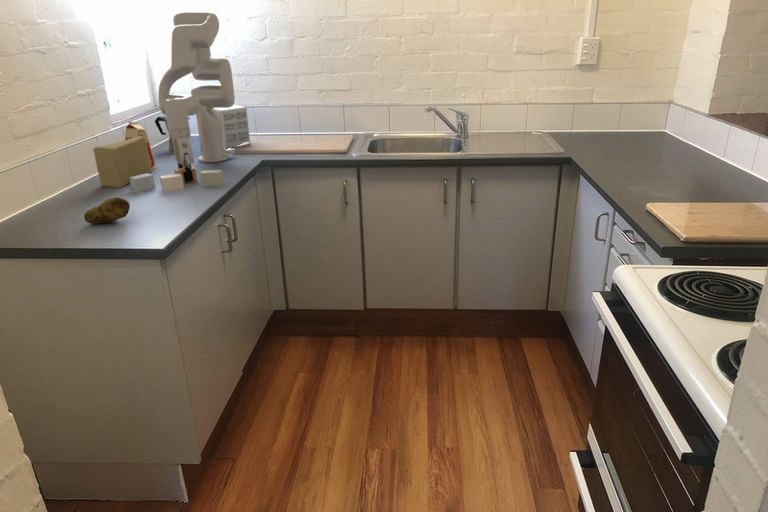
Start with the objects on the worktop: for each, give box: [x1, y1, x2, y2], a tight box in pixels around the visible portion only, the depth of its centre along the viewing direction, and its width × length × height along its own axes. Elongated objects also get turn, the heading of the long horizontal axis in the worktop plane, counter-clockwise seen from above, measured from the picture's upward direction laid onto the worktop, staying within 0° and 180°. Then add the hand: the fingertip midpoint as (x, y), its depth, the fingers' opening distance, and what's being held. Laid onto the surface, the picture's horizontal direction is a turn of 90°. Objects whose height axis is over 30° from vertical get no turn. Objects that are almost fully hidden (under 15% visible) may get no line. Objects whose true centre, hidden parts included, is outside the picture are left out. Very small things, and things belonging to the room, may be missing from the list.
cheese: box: [93, 136, 153, 189], centre depth 218 cm, size 22×10×15 cm, turn 161°
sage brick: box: [199, 169, 224, 187], centre depth 212 cm, size 7×4×5 cm, turn 92°
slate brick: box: [130, 173, 156, 193], centre depth 207 cm, size 7×4×5 cm, turn 142°
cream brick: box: [159, 173, 185, 193], centre depth 207 cm, size 7×4×5 cm, turn 122°
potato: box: [83, 196, 131, 225], centre depth 173 cm, size 8×13×8 cm, turn 78°
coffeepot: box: [154, 116, 191, 153], centre depth 263 cm, size 15×9×18 cm, turn 103°
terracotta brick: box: [174, 165, 198, 184], centre depth 217 cm, size 7×4×5 cm, turn 122°
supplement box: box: [213, 104, 251, 149], centre depth 275 cm, size 17×13×18 cm
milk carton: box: [124, 120, 157, 170], centre depth 231 cm, size 9×9×20 cm
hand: (186, 178), depth 217 cm, fingers open, 7 cm apart
